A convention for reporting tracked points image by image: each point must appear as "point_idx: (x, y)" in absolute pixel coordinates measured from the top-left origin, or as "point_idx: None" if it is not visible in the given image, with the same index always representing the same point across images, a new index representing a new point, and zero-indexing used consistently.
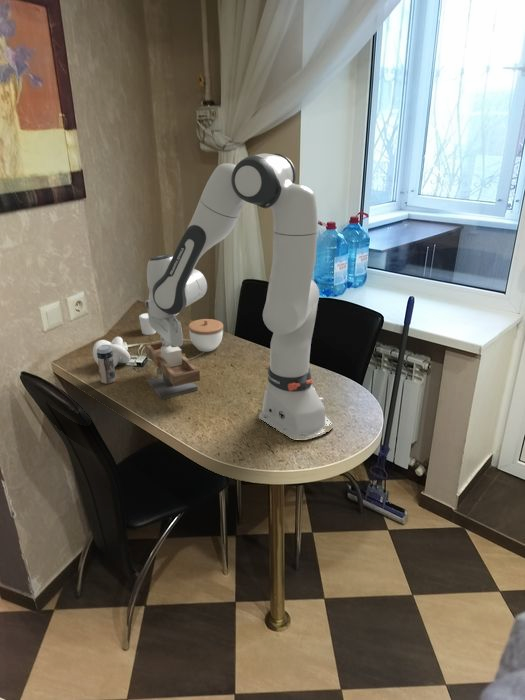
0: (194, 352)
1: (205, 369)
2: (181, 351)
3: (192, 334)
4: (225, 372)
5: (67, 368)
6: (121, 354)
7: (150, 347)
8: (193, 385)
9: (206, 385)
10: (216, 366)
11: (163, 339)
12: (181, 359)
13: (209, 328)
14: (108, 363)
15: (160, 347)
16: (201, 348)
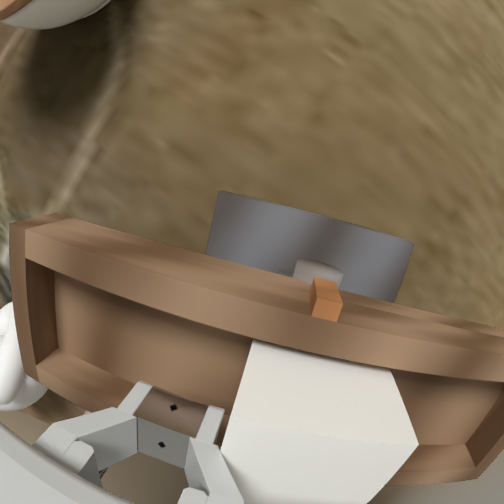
0: (87, 38)
1: (254, 67)
2: (413, 432)
3: (24, 15)
4: (349, 22)
5: (25, 410)
6: (25, 374)
7: (64, 387)
8: (390, 250)
9: (401, 175)
10: (264, 13)
11: (104, 459)
12: (390, 381)
13: None
14: (99, 473)
15: (49, 292)
16: (98, 5)
